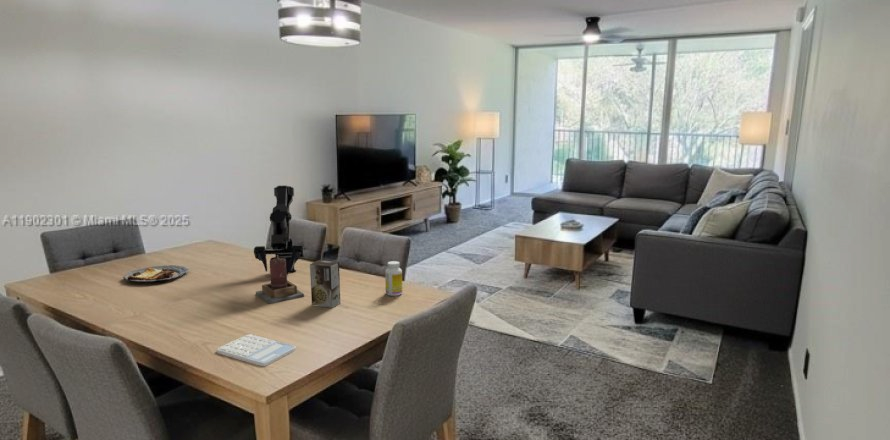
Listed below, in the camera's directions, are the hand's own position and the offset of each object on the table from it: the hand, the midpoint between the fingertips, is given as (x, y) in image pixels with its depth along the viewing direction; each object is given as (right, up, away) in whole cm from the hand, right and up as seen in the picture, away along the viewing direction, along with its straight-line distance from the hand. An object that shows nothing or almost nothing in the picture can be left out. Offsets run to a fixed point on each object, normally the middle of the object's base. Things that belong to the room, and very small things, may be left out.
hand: (278, 270), depth 210 cm
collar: (0, -10, +2) cm, 10 cm away
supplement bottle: (+44, -10, +5) cm, 46 cm away
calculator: (+8, -20, -48) cm, 53 cm away
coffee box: (+20, -12, -7) cm, 25 cm away
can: (0, -9, +2) cm, 9 cm away
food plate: (-60, -5, +24) cm, 65 cm away
